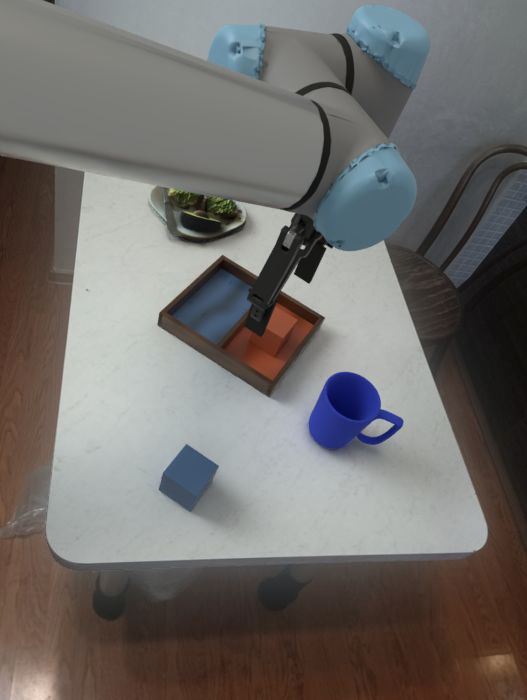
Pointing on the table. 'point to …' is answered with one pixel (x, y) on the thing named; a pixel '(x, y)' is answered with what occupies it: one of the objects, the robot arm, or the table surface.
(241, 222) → the salad plate
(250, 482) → the table surface
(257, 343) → the terracotta block
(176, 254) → the table surface
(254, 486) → the table surface
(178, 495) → the blue block
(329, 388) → the mug
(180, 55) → the robot arm
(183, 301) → the tray
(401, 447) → the table surface
